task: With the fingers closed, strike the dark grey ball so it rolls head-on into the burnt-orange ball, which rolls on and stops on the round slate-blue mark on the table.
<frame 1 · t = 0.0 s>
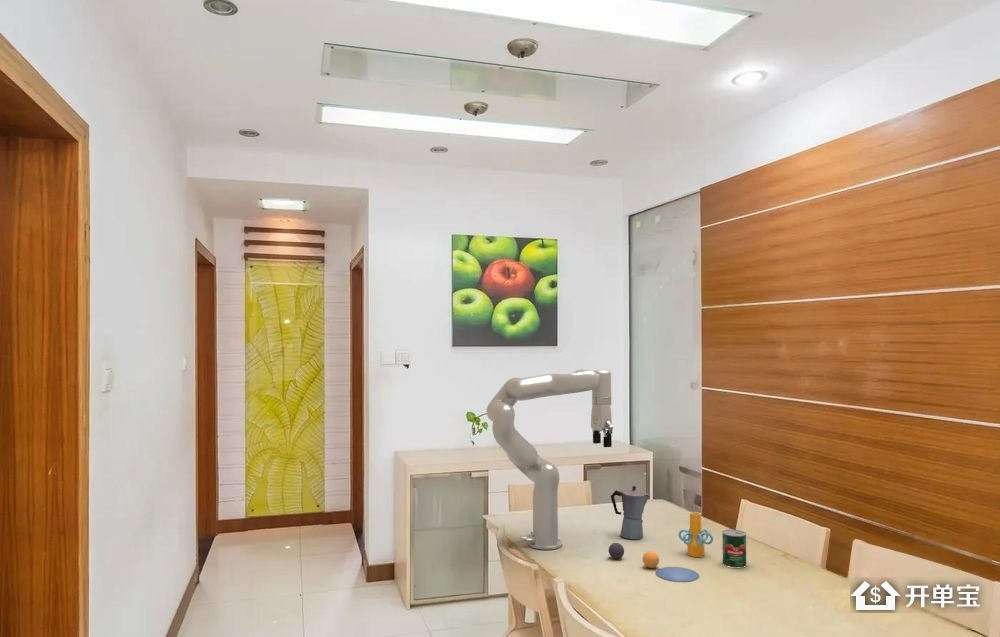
hand: (602, 445, 265), 37 cm above the table, tool pointing down, fingers open, 9 cm apart
canned tomato: (734, 565, 234), on the table
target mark: (677, 574, 224), on the table
object ball: (650, 559, 231), on the table
moka pot: (631, 537, 267), on the table
cylinder: (695, 555, 244), on the table
dark grey ball: (616, 550, 241), on the table
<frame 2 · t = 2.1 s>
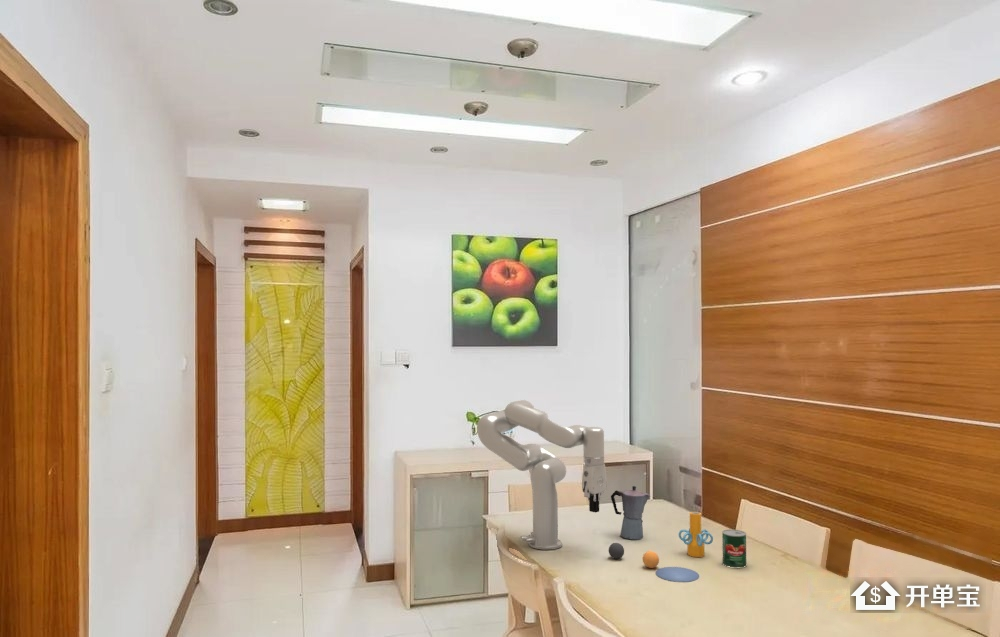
hand: (594, 511, 248), 15 cm above the table, tool pointing down, fingers closed
nothing on the table moved.
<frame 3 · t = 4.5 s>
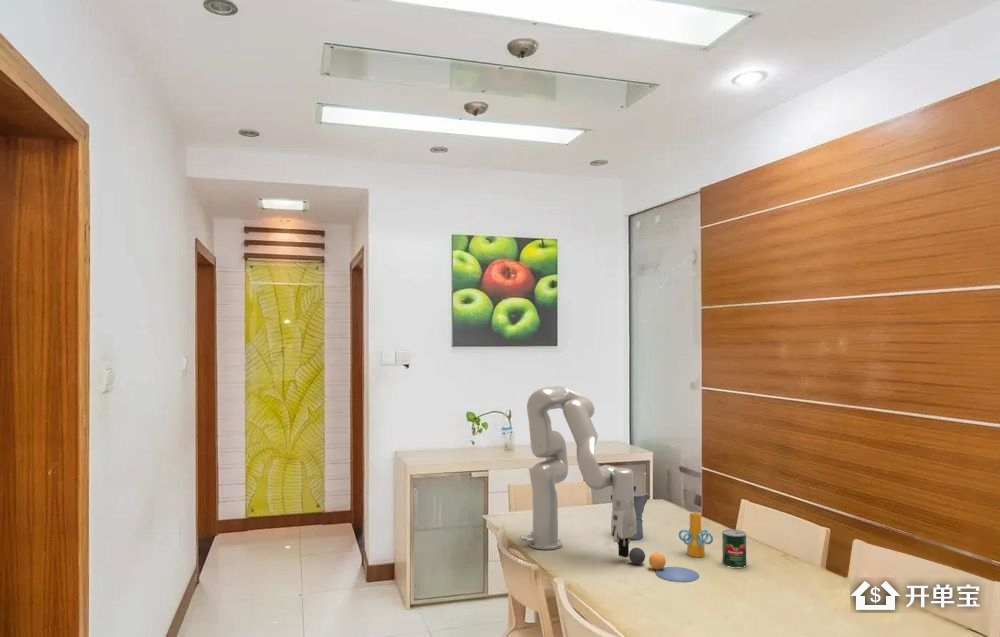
hand: (623, 556, 239), 2 cm above the table, tool pointing down, fingers closed
object ball: (657, 561, 229), on the table
dark grey ball: (637, 555, 235), on the table
everything else where it was.
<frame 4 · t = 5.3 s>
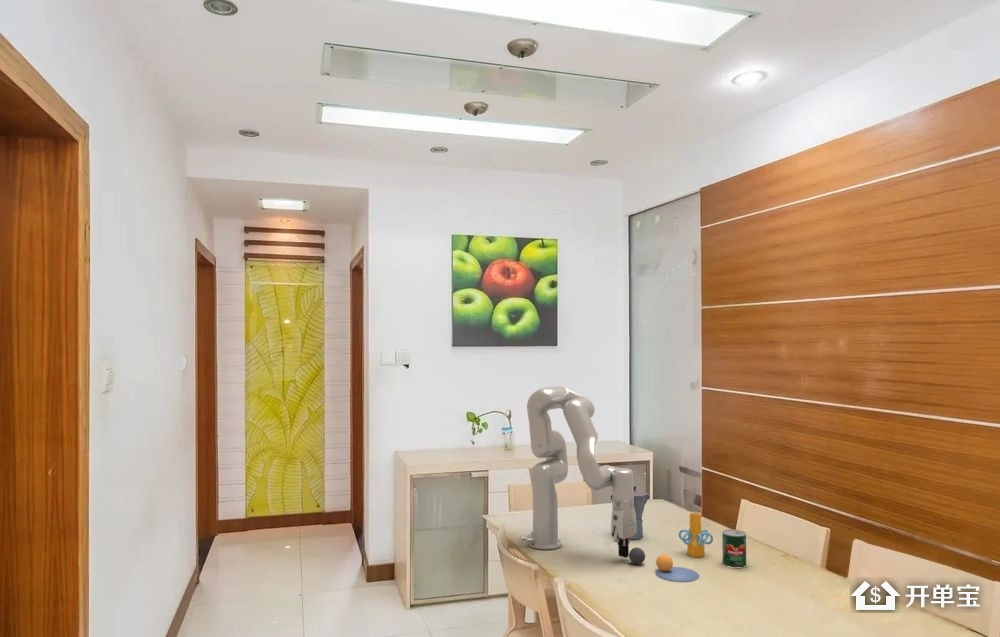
hand: (623, 556, 239), 2 cm above the table, tool pointing down, fingers closed
object ball: (664, 562, 227), on the table
everything else where it was.
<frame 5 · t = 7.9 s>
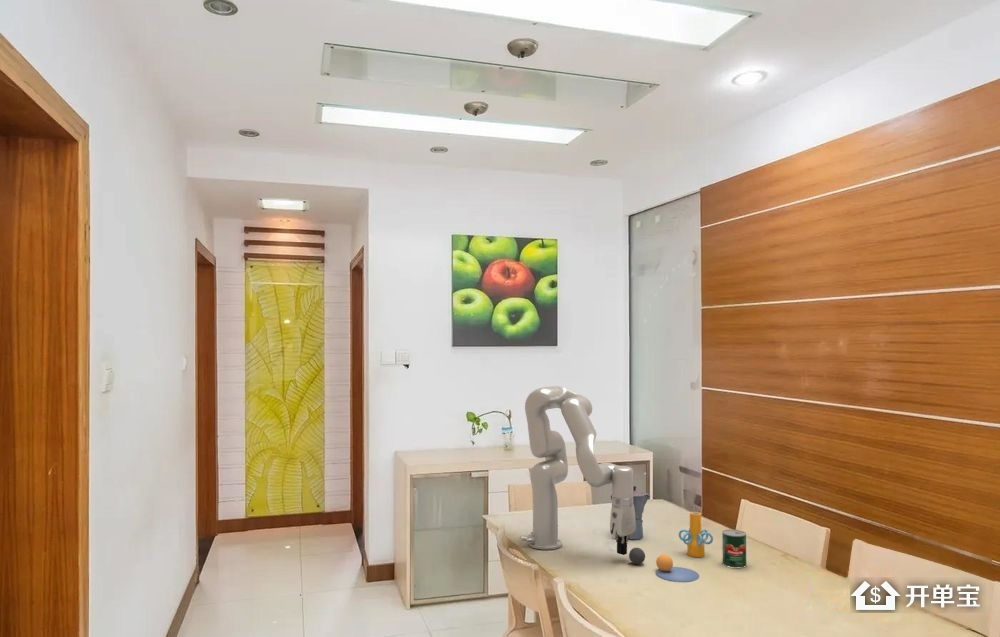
hand: (621, 553, 239), 2 cm above the table, tool pointing down, fingers closed
nothing on the table moved.
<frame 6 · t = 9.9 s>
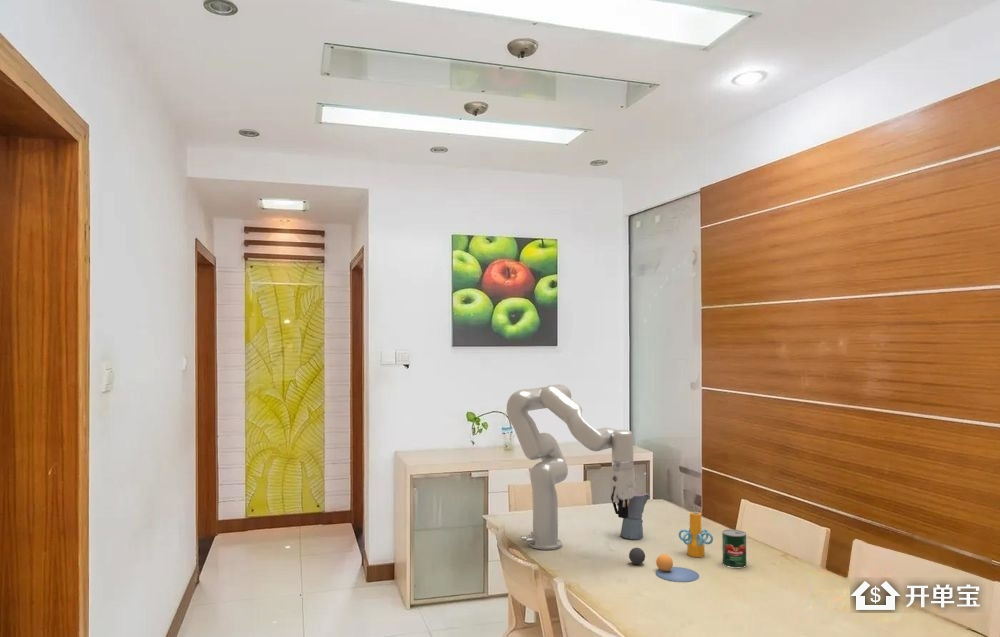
hand: (623, 517, 239), 15 cm above the table, tool pointing down, fingers closed
nothing on the table moved.
at the end: object ball 4.7 cm from the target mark (horizontally); object ball never touched the robot; dark grey ball first touched object ball at 4.2 s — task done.
